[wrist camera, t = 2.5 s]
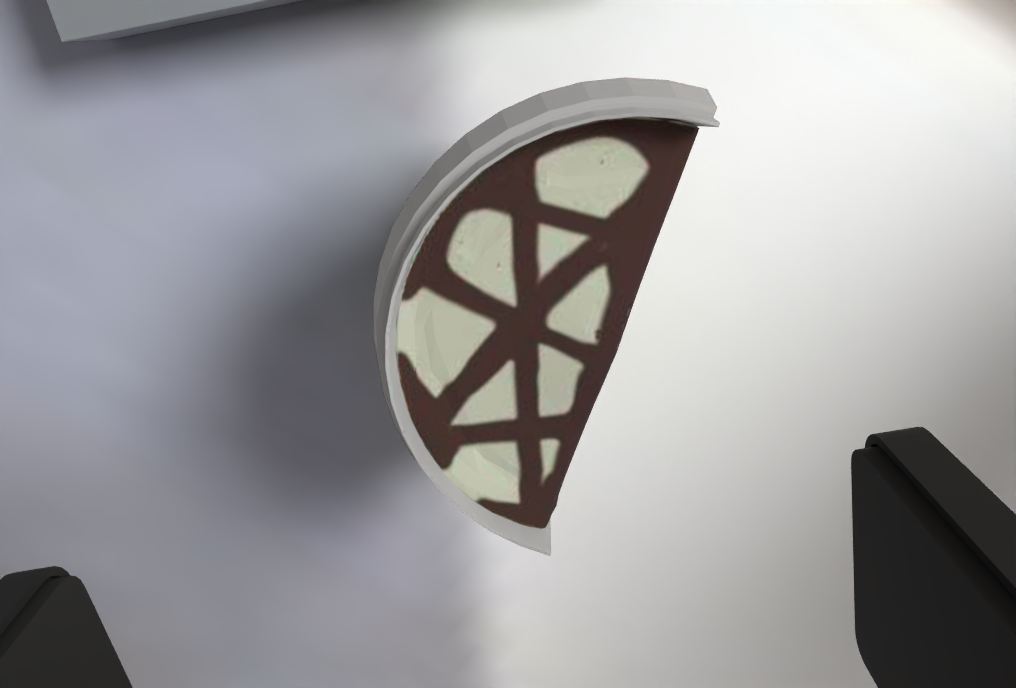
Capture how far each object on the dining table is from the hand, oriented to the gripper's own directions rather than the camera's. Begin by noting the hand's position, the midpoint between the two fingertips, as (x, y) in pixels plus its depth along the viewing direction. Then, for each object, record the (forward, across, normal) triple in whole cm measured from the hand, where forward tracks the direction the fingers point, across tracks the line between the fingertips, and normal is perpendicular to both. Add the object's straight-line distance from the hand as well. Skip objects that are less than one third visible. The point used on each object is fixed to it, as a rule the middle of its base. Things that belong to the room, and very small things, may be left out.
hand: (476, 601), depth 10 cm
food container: (+19, 0, 0) cm, 19 cm away
